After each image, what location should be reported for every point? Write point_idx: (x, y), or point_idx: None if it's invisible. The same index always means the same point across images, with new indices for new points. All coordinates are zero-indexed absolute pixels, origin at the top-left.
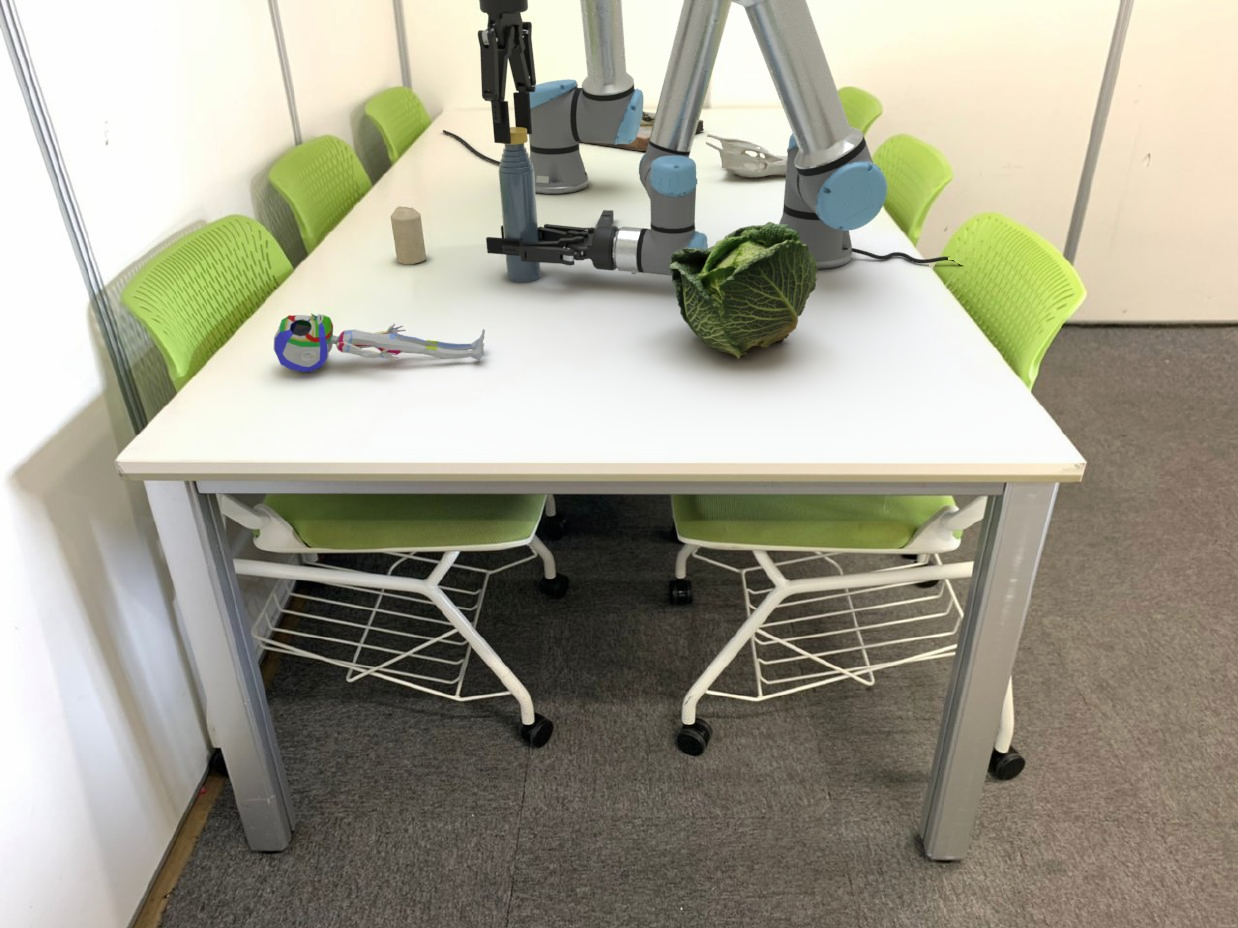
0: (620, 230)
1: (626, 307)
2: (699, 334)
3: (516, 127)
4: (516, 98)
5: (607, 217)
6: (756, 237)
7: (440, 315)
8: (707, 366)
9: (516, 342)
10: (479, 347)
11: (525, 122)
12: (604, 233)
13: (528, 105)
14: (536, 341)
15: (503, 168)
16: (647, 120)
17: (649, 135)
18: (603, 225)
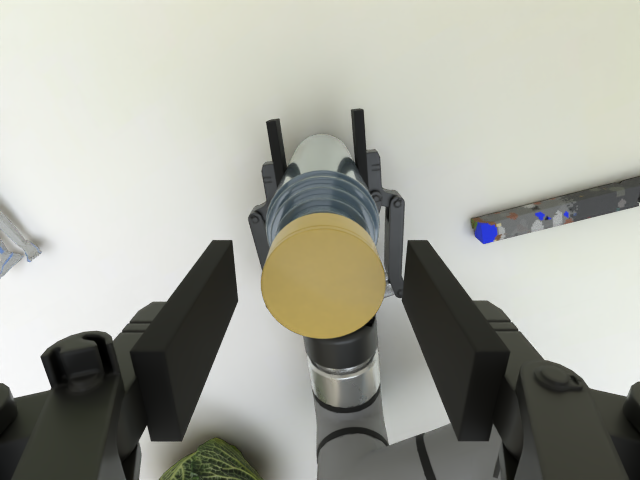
0: (334, 379)
1: (267, 346)
2: (176, 463)
3: (374, 278)
4: (458, 348)
5: (630, 202)
6: None
7: (108, 116)
8: (161, 455)
9: (97, 270)
10: (2, 269)
11: (416, 311)
12: (321, 356)
13: (438, 386)
14: (114, 291)
15: (268, 215)
16: None
17: None
18: (574, 215)
